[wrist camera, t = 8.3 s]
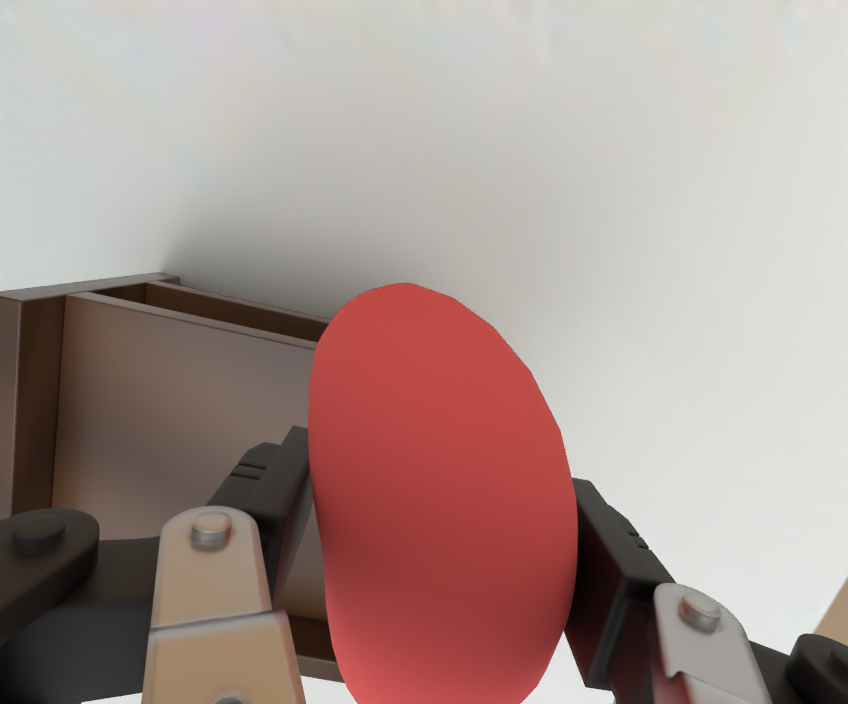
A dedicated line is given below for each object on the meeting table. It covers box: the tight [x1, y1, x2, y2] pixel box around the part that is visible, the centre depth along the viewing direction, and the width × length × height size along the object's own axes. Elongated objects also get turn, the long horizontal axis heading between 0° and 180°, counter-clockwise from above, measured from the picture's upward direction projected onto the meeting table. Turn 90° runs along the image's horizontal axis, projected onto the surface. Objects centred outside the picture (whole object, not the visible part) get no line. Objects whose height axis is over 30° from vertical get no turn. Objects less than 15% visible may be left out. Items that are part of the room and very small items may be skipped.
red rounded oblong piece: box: [308, 283, 578, 704], centre depth 10 cm, size 5×9×6 cm, turn 172°
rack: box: [0, 272, 345, 683], centre depth 23 cm, size 13×16×11 cm
